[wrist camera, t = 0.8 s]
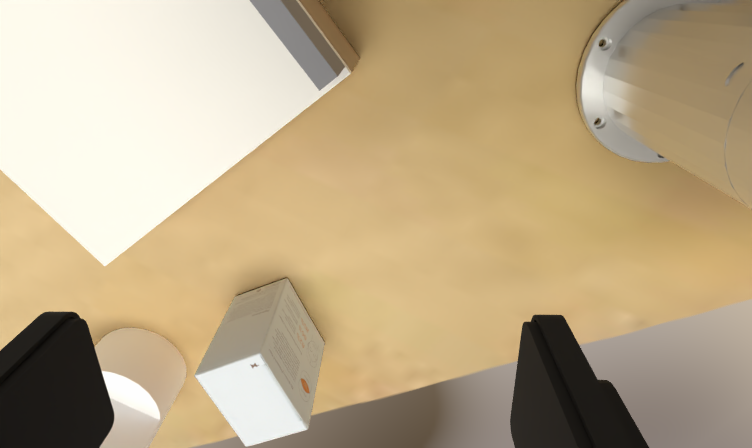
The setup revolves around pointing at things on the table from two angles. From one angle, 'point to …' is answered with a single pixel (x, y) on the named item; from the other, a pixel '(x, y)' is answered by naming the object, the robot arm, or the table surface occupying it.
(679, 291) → the table surface
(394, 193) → the table surface
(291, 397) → the small box
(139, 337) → the base with upright slab
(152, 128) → the lid
